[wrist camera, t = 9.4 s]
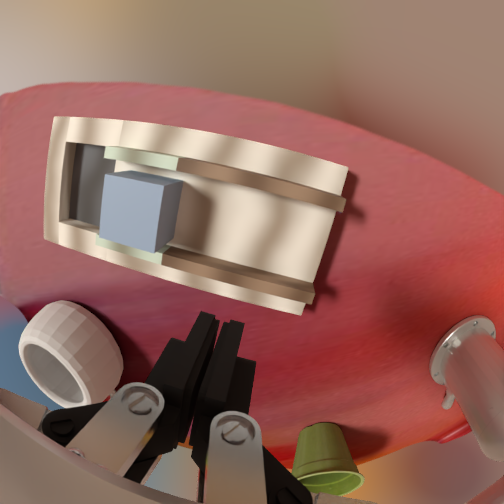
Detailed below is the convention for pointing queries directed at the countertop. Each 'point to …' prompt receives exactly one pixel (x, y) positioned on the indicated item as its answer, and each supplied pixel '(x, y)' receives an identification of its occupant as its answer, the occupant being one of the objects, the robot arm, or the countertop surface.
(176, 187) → the slate block
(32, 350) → the mug
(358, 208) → the countertop surface
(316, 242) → the tunnel board
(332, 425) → the plant pot
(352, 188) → the countertop surface
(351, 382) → the countertop surface
